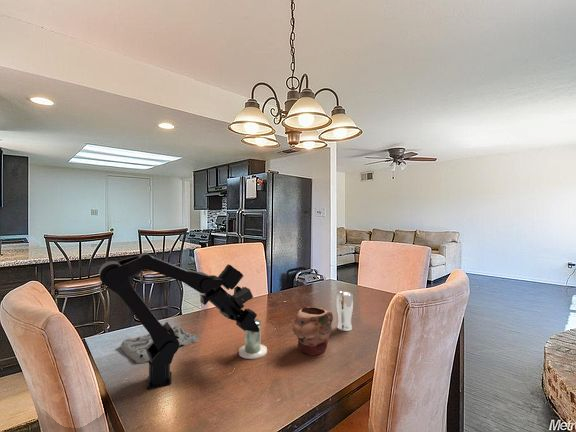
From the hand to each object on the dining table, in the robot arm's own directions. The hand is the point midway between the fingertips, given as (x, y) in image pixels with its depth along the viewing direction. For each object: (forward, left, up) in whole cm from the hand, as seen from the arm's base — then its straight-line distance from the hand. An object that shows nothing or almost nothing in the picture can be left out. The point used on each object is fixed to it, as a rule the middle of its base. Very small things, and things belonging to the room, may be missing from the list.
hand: (252, 326), depth 101 cm
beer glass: (+6, -42, -9) cm, 44 cm away
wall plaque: (+19, +30, -10) cm, 37 cm away
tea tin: (0, 0, -8) cm, 8 cm away
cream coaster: (0, 0, -9) cm, 9 cm away
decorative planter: (-5, -22, -9) cm, 25 cm away
